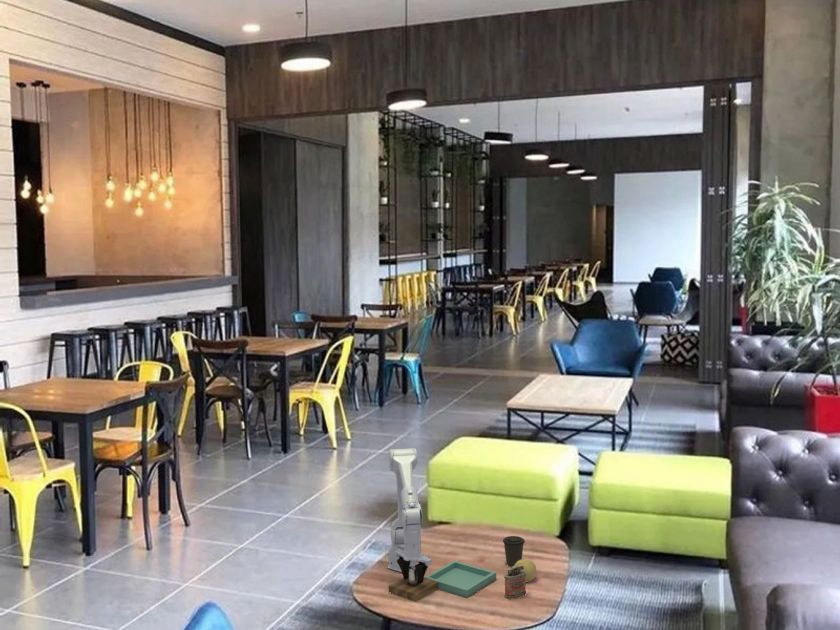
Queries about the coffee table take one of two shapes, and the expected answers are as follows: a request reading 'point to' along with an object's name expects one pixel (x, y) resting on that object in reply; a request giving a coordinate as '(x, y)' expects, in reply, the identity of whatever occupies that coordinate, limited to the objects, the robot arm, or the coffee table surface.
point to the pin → (412, 576)
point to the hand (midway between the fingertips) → (413, 581)
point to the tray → (462, 578)
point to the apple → (527, 568)
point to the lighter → (515, 582)
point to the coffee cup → (513, 549)
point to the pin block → (413, 589)
